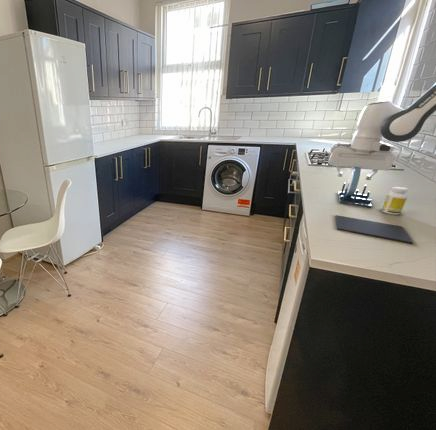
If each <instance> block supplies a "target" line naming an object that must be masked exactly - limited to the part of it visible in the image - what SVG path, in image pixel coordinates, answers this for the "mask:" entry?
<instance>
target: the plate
mask: <svg viewBox="0 0 436 430" xmlns="http://www.w3.org/2000/svg"><path fill="white" fill-rule="evenodd" d="M361 172H362V168H356V167H351V169H350V172H349V173H348V176H347V179H346V180H347V181H346V184H345V187H344V190H345V189H346V188H347V192H346V195H345V196H349V197H352V196H353V195H354V193H356V190H357V187H358V184H359V181H360V177H361Z"/></svg>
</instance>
